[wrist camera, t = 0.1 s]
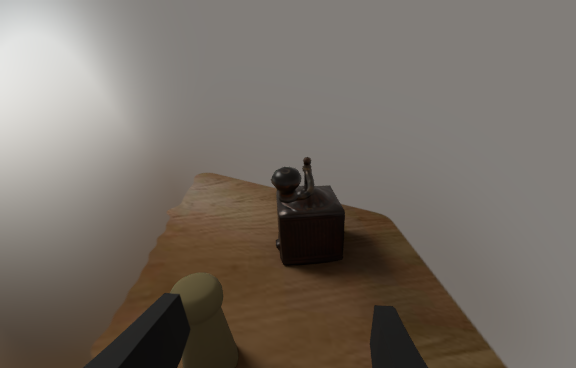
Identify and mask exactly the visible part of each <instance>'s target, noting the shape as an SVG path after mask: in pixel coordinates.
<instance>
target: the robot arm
mask: <svg viewBox="0 0 576 368" xmlns="http://www.w3.org/2000/svg"><path fill="white" fill-rule="evenodd" d="M190 330H191V329H190V326H189V322H188V319H187V316H186V313H185V310H184V306H183V303H182V300H181V297H180V294H172V293H164V294H163V295H162V296H161V297H160V298H159V299H158V300H157V301H156V302H155V303H153V304H152V305H151V306H150V307H149V308H148V309H147V310H146V311H145V312H144V313H143V314H142V315H141V316H140V317H139V318H138V319H137V320H136V321H134V322H133V323H132V324H131V325H130V326H129V327H128V328H127V329H126V330H125V331H124V332H123V333H122V334H121V335H119V336H118V337H117V338H116V339H115V340H114V341H113V342H112V343H111V344H110V345H109V346H107V347H106V348H105V349H104V350H103V351H102V352H101V353H99V354H98V355H97V356H96V357H95V358H94V359H93V360H91V361H90V362H89V363H88V364H87V365H86V366H85V367H84V368H177V367H178V364H179V362H180V360H181V357H182V355H183V352H184V349H185V346H186V343H187V340H188V337H189V333H190ZM370 349H371V359H372V368H428V367H427V365H426V363H425V362H424V360H423V359H422V357H421V355H420V354H419V352H418V350H417V349H416V347H415V345H414V343H413V341H412V340H411V338H410V336H409V334H408V332H407V331H406V329H405V327H404V325H403V323H402V321H401V319H400V317H399V315H398V313H397V311H396V309H395V308H394V307H393V306H377V305H375V306H374V314H373V322H372V330H371V338H370Z"/></svg>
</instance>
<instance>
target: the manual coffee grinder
mask: <svg viewBox="0 0 576 368" xmlns="http://www.w3.org/2000/svg"><path fill="white" fill-rule="evenodd" d="M303 161H304V166H303V168H302V169H303V171H304V186H299V184H300V182H301V175H300V173H299V171H298V170H296V169H295V168H291V167H283V168H281V169H278V170H276V171H275V172H274V174H273V176H272V179H271V181H272V184H273V185H274V186H275V187H276V188H277V214H278V228H279V236H278V239H277V240H276V247H277V248H278V250H279V251H280V258H281V260H282V263H283V265H305V264H315V263H326V262H331V261H336V260H341V259H342V258H343V243H344V220H345V211H344V209H343V207H342V206H341V204H340V202H339V201H338V199H337V197H336V195H335V194H334V192H333V190H332V188H331V186H314V180H313V176H312V170H311V165H310V164H311V159H310V158H308V157H306V158H304V160H303ZM298 186H299V187H298Z"/></svg>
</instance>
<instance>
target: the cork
mask: <svg viewBox="0 0 576 368" xmlns="http://www.w3.org/2000/svg"><path fill="white" fill-rule="evenodd" d="M170 293H172V294H180V297H181V300H182V303H183V306H184V310H185V313H186V316H187V319H188V322H189V326H190V329H191V330H190V333H189V337H188V340H187V343H186V346H185V349H184V352H183V355H182V361H183V368H235V367H236V365H237V361H238V350H237V347H236V344H235V341H234V339H233V336H232V334H231V331H230V329H229V326H228V324H227V321H226V318H225V316H224V313H223V311H222V308H221V305H222V301H223V290H222V286H221V284H220V282H219V281H218V279H217V278H216V277H214V276H213V275H211V274H208V273H195V274H191V275H188V276H186V277H184V278H182V279H181V280H179V281H178V282H177V283H176V284H175V285H174V287H173V288H172V290H171V292H170Z"/></svg>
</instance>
